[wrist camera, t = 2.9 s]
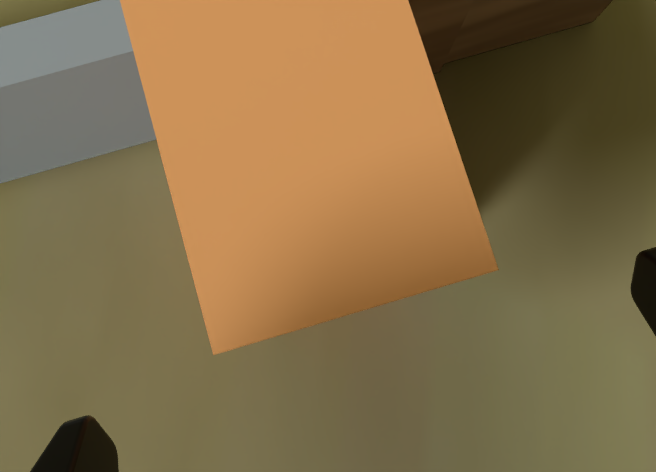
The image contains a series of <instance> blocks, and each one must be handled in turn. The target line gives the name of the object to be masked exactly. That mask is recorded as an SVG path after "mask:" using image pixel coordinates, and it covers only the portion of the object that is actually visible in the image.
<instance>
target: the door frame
mask: <svg viewBox="0 0 656 472" xmlns="http://www.w3.org/2000/svg"><path fill="white" fill-rule="evenodd" d="M408 1H409V4H410V7H411V10H412V13H413V16H414V19H415V22H416V25H417V28H418V31H419V34H420V37H421V40H422V43H423V46H424V49H425V52H426V55H427V58H428V61H429V64H430V67H431V70H432V73H437V72H440V71H441V69H442V67H443V64H444V63H448V62H451V61H455V60H458V59H462V58H466V57H469V56H473V55H476V54H480V53H483V52H487V51H490V50H494V49H497V48H501V47H505V46H508V45H512V44H515V43H519V42H522V41H526V40H529V39H533V38H536V37H540V36H543V35H547V34H551V33H554V32H558V31H561V30H565V29H568V28H572V27H575V26H579V25H582V24H586V23H590V22H593V21H594V20H595V19H596V18H597V17H598V16H599V15H600V14H601V13H602V12H603V10H604V9H605V8H606V7H607V6H608V5H609V4H610V3H611V2H612V1H613V0H408Z"/></svg>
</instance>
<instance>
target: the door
mask: <svg viewBox="0 0 656 472" xmlns="http://www.w3.org/2000/svg"><path fill="white" fill-rule="evenodd" d="M152 140H156V135H155V132H154V128H153V124H152V120H151V116H150V113H149V109H148V105H147V101H146V97H145V94H144V90H143V86H142V82H141V79H140V75H139V71H138V67H137V63H136V60H135V56H134V52H133V48H132V44H131V41H130V37H129V33H128V29H127V26H126V22H125V18H124V14H123V10H122V7H121V3H120V0H100V1H97V2H93V3H89V4H86V5H82V6H78V7H74V8H71V9H67V10H63V11H60V12H56V13H52V14H49V15H45V16H41V17H38V18H34V19H30V20H26V21H23V22H19V23H15V24H12V25H8V26H4V27H1V28H0V183H3V182H7V181H10V180H14V179H18V178H21V177H25V176H28V175H32V174H35V173H39V172H42V171H46V170H49V169H53V168H57V167H60V166H64V165H67V164H71V163H74V162H78V161H81V160H85V159H89V158H92V157H96V156H99V155H103V154H106V153H110V152H113V151H117V150H120V149H124V148H128V147H131V146H135V145H138V144H142V143H145V142H149V141H152Z"/></svg>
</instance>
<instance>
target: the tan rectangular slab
mask: <svg viewBox="0 0 656 472" xmlns="http://www.w3.org/2000/svg"><path fill="white" fill-rule="evenodd" d="M120 3H121V7H122V10H123V14H124V18H125V22H126V26H127V29H128V33H129V37H130V41H131V44H132V48H133V52H134V56H135V60H136V63H137V67H138V71H139V75H140V79H141V82H142V86H143V90H144V94H145V97H146V101H147V105H148V109H149V113H150V116H151V120H152V124H153V128H154V132H155V135H156V139H157V143H158V147H159V150H160V154H161V158H162V162H163V166H164V169H165V173H166V177H167V181H168V185H169V188H170V192H171V196H172V200H173V204H174V207H175V211H176V215H177V219H178V222H179V226H180V230H181V234H182V238H183V241H184V245H185V249H186V253H187V257H188V260H189V264H190V268H191V272H192V275H193V279H194V283H195V287H196V291H197V294H198V298H199V302H200V306H201V310H202V313H203V317H204V321H205V325H206V329H207V332H208V336H209V340H210V344H211V347H212V351H213V355H215V354H219V353H222V352H225V351H229V350H232V349H235V348H239V347H242V346H246V345H249V344H252V343H256V342H259V341H262V340H266V339H269V338H272V337H276V336H279V335H282V334H286V333H289V332H292V331H296V330H299V329H302V328H306V327H309V326H312V325H316V324H319V323H322V322H326V321H329V320H333V319H336V318H339V317H343V316H346V315H349V314H353V313H356V312H359V311H363V310H366V309H369V308H373V307H376V306H379V305H383V304H386V303H389V302H393V301H396V300H399V299H403V298H406V297H409V296H413V295H416V294H420V293H423V292H426V291H430V290H433V289H436V288H440V287H443V286H446V285H450V284H453V283H456V282H460V281H463V280H466V279H470V278H473V277H476V276H480V275H483V274H486V273H490V272H493V271H497V270H499V269H498V266H497V263H496V261H495V258H494V255H493V252H492V249H491V246H490V243H489V240H488V237H487V234H486V231H485V228H484V225H483V222H482V219H481V216H480V213H479V210H478V207H477V204H476V201H475V198H474V195H473V192H472V189H471V186H470V183H469V180H468V177H467V174H466V171H465V168H464V165H463V162H462V159H461V156H460V153H459V150H458V147H457V144H456V141H455V138H454V135H453V132H452V129H451V126H450V123H449V120H448V117H447V114H446V111H445V108H444V105H443V102H442V99H441V96H440V94H439V91H438V88H437V85H436V82H435V79H434V76H433V73H432V70H431V67H430V64H429V61H428V58H427V55H426V52H425V49H424V46H423V43H422V40H421V37H420V34H419V31H418V28H417V25H416V22H415V19H414V16H413V13H412V10H411V7H410V4H409V1H408V0H120Z"/></svg>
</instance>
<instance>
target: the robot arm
mask: <svg viewBox="0 0 656 472" xmlns="http://www.w3.org/2000/svg"><path fill="white" fill-rule="evenodd" d="M631 294H632V297H633V300H634V302H635V304H636V305H637V307H638V309H639V310H640V312H641V313H642V315H643V317H644V318H645V320H646V321H647V323H648V325H649V326H650V328H651V329H652V331H653V333H654V334H655V336H656V247H654V248H651V249H647V250H644V251H642V252H640V253H639V254H638V255H637V257H636V261H635V266H634V272H633V277H632V282H631ZM30 472H119V469H118V455H117V450H116V447H115V445H114V443H113V441H112V440H111V438H110V437H109V436H108V435H107V433H106V432H105V431H104V430H103V428H102V427H101V426H100V424H99V423H98V422H97V421H96V419H95V418H94V417H92V416H89V415H88V416H83V417H79V418H76V419H73V420H69V421H67V422H65V423H63V424H62V425H61V426H60V428H59V429H58V430H57V432H56V433H55V435H54V436H53V438H52V439H51V441H50V442H49V444H48V445H47V447H46V449H45V450H44V452H43V453H42V455H41V456H40V458H39V459H38V461H37V462H36V464H35V465H34V467H33V468H32V470H31V471H30Z"/></svg>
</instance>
